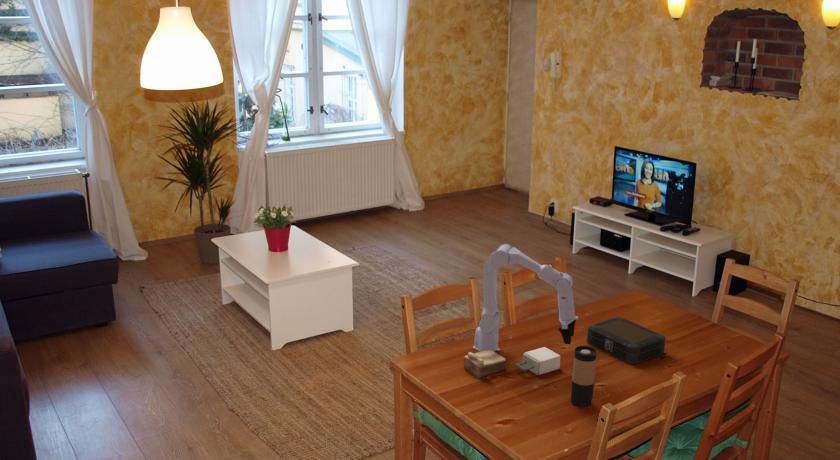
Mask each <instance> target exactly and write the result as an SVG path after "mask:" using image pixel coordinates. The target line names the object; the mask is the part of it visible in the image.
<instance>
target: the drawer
mask: <svg viewBox="0 0 840 460" xmlns="http://www.w3.org/2000/svg"><path fill="white" fill-rule="evenodd" d="M539 366H540V362H538V361H537V360H535V359H533V358H531V357H530V356H528V355H526V354H524V353H523V354H522V360H521V362H519V363H515V367H516V368H518V369H520V370H521V371H523V372H527V371H529V372H531V373H533V374H535V375H537V376H538V375H539Z"/></svg>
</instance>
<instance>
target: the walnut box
mask: <svg viewBox="0 0 840 460" xmlns="http://www.w3.org/2000/svg"><path fill="white" fill-rule="evenodd" d="M506 365H507V360H506V361H503V362H500V363H496V364H493V365H490V366H486V367H483V368H480V367H478V366H476V365H475V364H473V363H472V362H470V361H469V360H467V359H466V358H463V368H464V369H465V370H466V371H468V372H470V373H471V374H472V375H474V376H475V377H477V378H478V379H483V378H487V377H488V375H490V374H493V373H497V372H500V371H504V370H506V369H507V366H506Z"/></svg>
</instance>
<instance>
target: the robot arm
mask: <svg viewBox="0 0 840 460" xmlns="http://www.w3.org/2000/svg"><path fill="white" fill-rule="evenodd" d="M508 262H509V263H508ZM507 264H508V265H510V266H511V265H517V264H519V265H521V266H523V267H525V268H526V269H529V270H530V271H532V272H534V273H536V274H537V277H538V278H539V279H541V280H542V281H544V282H546V283H547V284H549V285H550V286H553V287H554V288H555V290H556V292H557V305H558V316H559V317H558V320H559V322H560V324H561V325H558V327H557V329H558V331H559V333H560V334H561V338H562V339H563V343H564V344H565V345H571V343H572V337H574V335H575V334H574V333H575V327H576V326H575V325H576V321H577V320H579V316H577V315H576V314H575V303H574V302H575V301H574V294H573V287H572V286H573V284H574V279H573V277H572V276H571V275H570V274H568V272H567V273H566V272H562V271H559V270H558V269H556V268H554V267H553V266H552V265H551V264H540V263H539V262H538V261H535V260H534V259H533V258H531V257H529V255H526V254H525V253H523V252H522V251H520V250H519V249H518V248H517V247H516V246H512V244H508V243H503V244H501V245H500V246H498V247H496V248H495V250H494V251H493V252H492V253H491V254H490V255H489V256H488V258H487V259H486V261H485V262H484V263H483V309H482V312H481V318H480V321H479V323H478V324H479V325H478V327H476V329H475V332H474V345H473V346H472V348H473V349H475V350H477V352H481V351H485V350H488V349H490V350H492V351H494V352H496V351H497V352H498V351H500V350H501V349H500V348H499V332H500V329H499V324H500V322H501V320H502V317H501V314H500V313H499V307H498V304H497V303H498V301H497V299H498V290H497V289H498V287H497V285H498V284H497V283H498V281H497V279H498V278H497V276H498V274H497V271H498V268H499V269H500V268H501V267H504V266H506V265H507Z"/></svg>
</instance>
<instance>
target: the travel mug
mask: <svg viewBox="0 0 840 460" xmlns="http://www.w3.org/2000/svg"><path fill="white" fill-rule="evenodd" d="M597 353H598V352H597V349H595V347H591V346H587V345H580V346H579V345H578V346H576V347H575V349H574V354H573V363H572V364H573V365H572V376H571V390H570V391H571V393H570V403H571V404H572V405H573V406H575V407H577V408H581V409H583V408H589V407H591V405H592V403H593V396H594V395H593V394H594V388H595V380H596V379H595V377H596V368H597V367H596V366H597Z"/></svg>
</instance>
